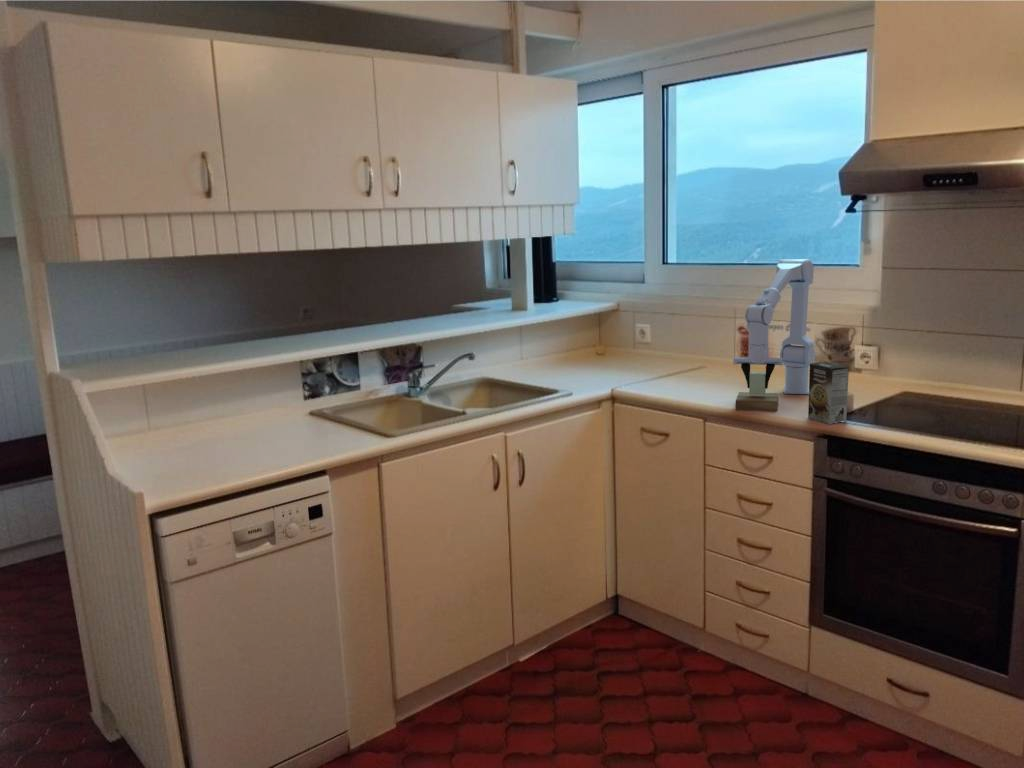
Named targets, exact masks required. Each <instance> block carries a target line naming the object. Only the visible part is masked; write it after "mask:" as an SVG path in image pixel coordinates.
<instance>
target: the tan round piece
mask: <svg viewBox="0 0 1024 768" xmlns="http://www.w3.org/2000/svg"><path fill="white" fill-rule="evenodd" d="M854 401H855V394H854V393H853V392H848V395H847V413H851V412H850V411H853V412H854V405H855V404H854V403H855V402H854Z"/></svg>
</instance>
